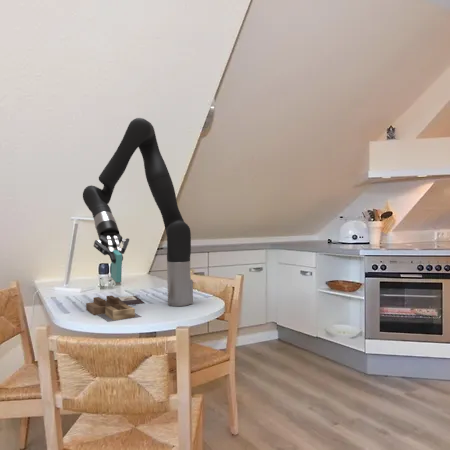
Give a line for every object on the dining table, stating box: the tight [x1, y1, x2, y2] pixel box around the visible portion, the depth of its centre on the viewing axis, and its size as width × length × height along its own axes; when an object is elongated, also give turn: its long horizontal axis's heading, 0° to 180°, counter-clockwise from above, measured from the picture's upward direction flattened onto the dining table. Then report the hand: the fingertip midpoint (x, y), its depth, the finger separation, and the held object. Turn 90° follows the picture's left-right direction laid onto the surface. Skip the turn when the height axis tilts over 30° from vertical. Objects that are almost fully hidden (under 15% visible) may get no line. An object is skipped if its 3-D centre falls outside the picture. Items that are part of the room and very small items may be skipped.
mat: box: [97, 312, 142, 323], centre depth 153 cm, size 12×12×1 cm
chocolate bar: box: [115, 295, 146, 306], centre depth 181 cm, size 9×1×18 cm
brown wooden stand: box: [85, 294, 126, 316], centre depth 162 cm, size 12×10×5 cm
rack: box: [105, 304, 136, 321], centre depth 153 cm, size 7×9×3 cm
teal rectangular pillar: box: [110, 249, 123, 283], centre depth 154 cm, size 2×6×10 cm, turn 32°
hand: (118, 261), depth 152 cm, fingers closed on teal rectangular pillar, 1 cm apart
